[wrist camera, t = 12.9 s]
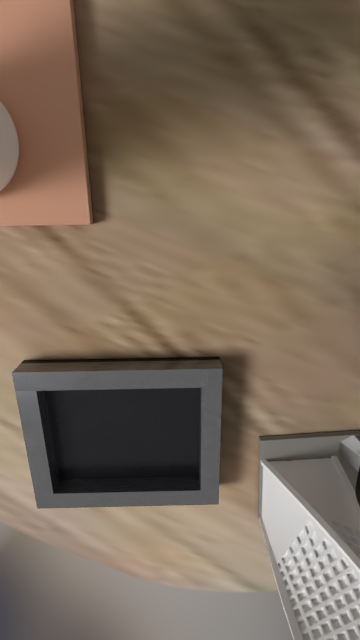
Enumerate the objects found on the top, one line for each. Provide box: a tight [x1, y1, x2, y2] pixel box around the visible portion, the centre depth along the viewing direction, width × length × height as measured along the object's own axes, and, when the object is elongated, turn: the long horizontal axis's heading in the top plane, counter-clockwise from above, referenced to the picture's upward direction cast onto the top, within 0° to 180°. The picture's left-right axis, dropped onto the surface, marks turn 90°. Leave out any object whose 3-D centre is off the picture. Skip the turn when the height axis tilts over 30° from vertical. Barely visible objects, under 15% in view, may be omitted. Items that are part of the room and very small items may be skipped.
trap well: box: [12, 357, 223, 508], centre depth 22 cm, size 12×10×2 cm
